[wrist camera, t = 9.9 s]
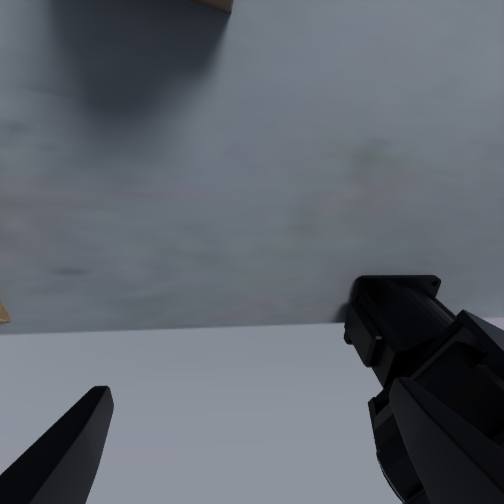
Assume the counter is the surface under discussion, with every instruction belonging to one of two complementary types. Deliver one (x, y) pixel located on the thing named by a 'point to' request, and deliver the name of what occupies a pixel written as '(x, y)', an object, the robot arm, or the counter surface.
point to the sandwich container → (3, 315)
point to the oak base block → (217, 4)
